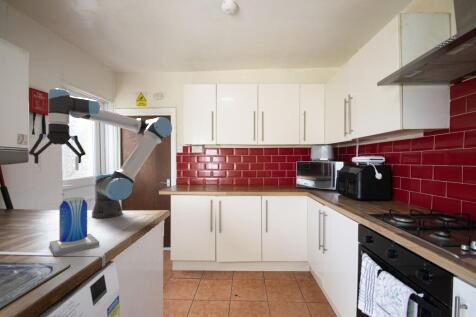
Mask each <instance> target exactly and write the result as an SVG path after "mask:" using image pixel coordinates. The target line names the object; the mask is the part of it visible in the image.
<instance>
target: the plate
mask: <svg viewBox="0 0 476 317" xmlns="http://www.w3.org/2000/svg"><path fill="white" fill-rule="evenodd" d="M49 247H50V249H51V252H52V253H53V255H54V257H59V256H62V255H66V254H71V253H74V252H75V253H76V252H79V251H83V250H87V249H92V248H96V247H100V241H99V240H98V239H97V238H96V237H94V236H93V235H92V234H91V233H87V237H86V239H85V240H84V241H83V242H81V243H78V244H74V245H63V244H62V243H61V242H60V241H59V239H56V240H51V241H49Z"/></svg>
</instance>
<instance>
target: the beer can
mask: <svg viewBox="0 0 476 317" xmlns="http://www.w3.org/2000/svg"><path fill="white" fill-rule="evenodd" d="M58 209H59V225H58V227H59V230H58V231H59V233H58V234H59V236H58V237H59V239H58V240H59V241H60V242H61V243H62V244H63V245H74V244H78V243H81V242H83V241H84V240H85V239H86V237H87V234H88V202H87V201H86V199H85V197H83V196H82V197H80V196H78V197H76V196H75V197H69V198H68V197H67V198H63V199H62V202H61V203H60V205H59V208H58Z"/></svg>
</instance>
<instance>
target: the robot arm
mask: <svg viewBox="0 0 476 317" xmlns="http://www.w3.org/2000/svg"><path fill="white" fill-rule="evenodd" d="M47 100H48V103H47V104H48V105H47V106H48V108H47V109H48V110H47V111H48V120H47V121H48V124H47V126H48V128H47V130H48V132H47V134H46V133H42V132H41V133H39V135H38V139H37V140H36V141H35V143H34V145H33V146H32V147H31V148H30V150H29V151H28V155H31V156H33V157H34V159H33V160H34V164H35V165H36V164H37V172H41V171H42V167H41V166H42V164H41V163H42V159H41V158H42V157H41V156H40V154H42V153H43V152H44V151H45V150H46V149H47V148H49V147H50V146H51V145H52V144H53V145H62V146H63V145H66V146H67V147H68V148H69V149H70V151H72V152H73V153H74V154H75V155H76V156H75V160H74V161H75V162H74V163H75V164H74V167H75V171H79V164H81V163H82V157H83V156H86V154H87V153H86V151H85V150H84V148H83V146H82V144H81V143H80V141H79V136H78V135H70V125H69V124H70V117H72V118H74V119H83V120H87V121H88V120H89V121H93V122H95V123H101V124H104V125H108V126H112V127H115V128H120V129H124V130H127V131H131V132H134V134H137V135H141V136H143V137H142V138H141V139H140V141H139V142H138V143H137V145H136V146H135V147H134V149H133V150H132V152H131V153H130V155H129V156H128V157H127V159H126V160H125V161H124V163H122V166H121V167H120V168H119V169H118V170H116V169H115V170H114V171H113V172H112V173H109V174H98V175H97V176H95V202H94V205H93V208H92V212H91V217H92V218H95V219H96V218H97V219H103V218H104V219H105V218H112V217H117V216H121V215H122V214H123V208H122V205H121V201H123V200H126V199H127V198H128V197H130V195H131V194H132V192H133V186H134V184H135V182H136V181H135V177H136V176H137V174H138V173H139V171H140V170H141V168H142V167H143V165H144V164H145V163H146V161H147V160H148V158H149V157H150V155H151V154H152V152H153V150H154V149H155V147H156V146H157V145H158V144H161V143H162V142H163V141H164V139H165V137H168V136H170V135H171V134H172V133H173V126H172V123H171V121H170V119H168V118H166V117H163V116H157V117H155V118H150V119H143V118H133V117H130V116H126V115H122V114H119V113H116V112H112V111H108V110H105V109H102V108H100V103H99V101H98V100H95V99H92V98H91V99H90V98H85V97H78V96H77V97H76V96H73V95H71V94H70V92H69V91H68V90H67V89H63V88H51V89H49V90H48V97H47ZM45 138H47V139H48V140H49V141H48V142H46V143H45V144H44V145H43V146H42V147H40V149H38V150H37V148H38V147H39V145H40V144H41V142H42V141H43V140H45ZM70 139H71V140H72V141H73V142H74V144H75V145H76V147H77V149H78V150H79V151H78V150H77V149H76V148H75V147H74V145H72V143H71V142H70ZM36 150H37V151H36ZM35 151H36V152H35Z"/></svg>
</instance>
